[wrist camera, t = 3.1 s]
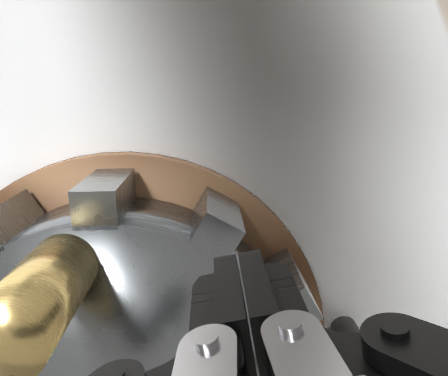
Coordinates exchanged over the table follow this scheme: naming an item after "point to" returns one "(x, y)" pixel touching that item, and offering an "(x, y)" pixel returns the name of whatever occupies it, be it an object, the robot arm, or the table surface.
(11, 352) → the sprocket wheel
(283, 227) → the sprocket base
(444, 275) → the table surface
